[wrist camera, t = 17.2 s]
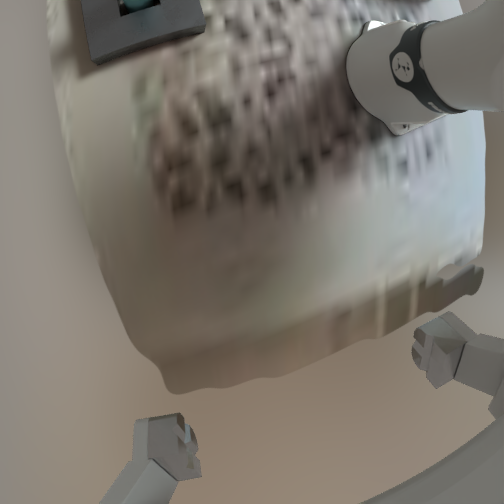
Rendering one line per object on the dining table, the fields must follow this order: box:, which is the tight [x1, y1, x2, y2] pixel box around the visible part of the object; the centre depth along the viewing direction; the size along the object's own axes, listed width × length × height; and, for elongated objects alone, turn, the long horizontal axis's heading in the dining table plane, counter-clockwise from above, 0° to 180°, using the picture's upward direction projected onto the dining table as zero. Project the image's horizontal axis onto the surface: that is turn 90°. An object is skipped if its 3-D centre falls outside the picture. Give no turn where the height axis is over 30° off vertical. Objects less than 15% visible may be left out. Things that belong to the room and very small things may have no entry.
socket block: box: [81, 0, 206, 65], centre depth 26 cm, size 14×14×3 cm
